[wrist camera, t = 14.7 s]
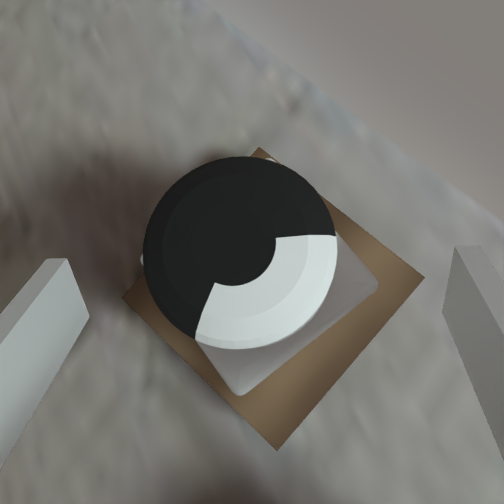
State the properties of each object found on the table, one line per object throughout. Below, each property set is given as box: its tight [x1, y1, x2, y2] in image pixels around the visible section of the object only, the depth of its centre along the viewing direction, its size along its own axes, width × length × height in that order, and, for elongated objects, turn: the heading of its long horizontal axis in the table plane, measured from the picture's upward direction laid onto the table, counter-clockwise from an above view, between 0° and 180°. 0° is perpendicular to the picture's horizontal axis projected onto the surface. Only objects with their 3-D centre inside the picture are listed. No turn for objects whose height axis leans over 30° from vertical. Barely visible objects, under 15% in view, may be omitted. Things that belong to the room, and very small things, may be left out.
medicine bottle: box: [140, 156, 378, 396], centre depth 19 cm, size 7×7×12 cm
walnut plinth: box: [122, 147, 425, 451], centre depth 26 cm, size 12×12×4 cm
